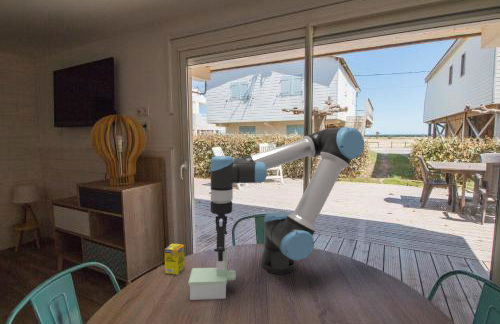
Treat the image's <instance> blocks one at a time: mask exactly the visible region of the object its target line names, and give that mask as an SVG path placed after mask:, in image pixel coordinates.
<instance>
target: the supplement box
mask: <svg viewBox="0 0 500 324" xmlns="http://www.w3.org/2000/svg"><path fill="white" fill-rule="evenodd" d="M184 270H185V244H180V243H171V244H169V245H168V246H167V247H166V248H164V275H172V276H173V275H174V276H179V275H180V274H181V273H182V272H183V271H184Z"/></svg>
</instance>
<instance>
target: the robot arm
mask: <svg viewBox="0 0 500 324" xmlns="http://www.w3.org/2000/svg"><path fill="white" fill-rule="evenodd" d="M364 149H365V140H364V136H363V134H362V133H361V131H360V130H359V129H357V128H354V127H350V126H343V127H329V128H328V127H327V128H325V129H321V130H319V131H316V132H313V133H311V134H307V135H305V136H303V138H302V139H299V140H296V141H292V142H289V143H286V144H282V145H279V146H277V147H274V148H270V149H267V150H264V151H260V152H258V153H257V152H256V153H254V154H251V155H248V156H244V157H237V158H233V157H232V156H230V155H229V156H227V155H217V156H213V157H212V158H211V159H210V169H209V170H210V191H208V194H209V195H210V201H211V202H210V213H211V214H214V215H217V216H215V219H214V220H215V230H216V248H214V250H213V251H214V252H215V253H216V257H215V258H216V259H215V263H216V266H215V268H216V270H225V248H226V235H228V231H227V223H228V216H227V215H229V214H231V213H232V212H233V197H234V196H233V194H234V193H233V192H234V191H233V185H234V184H258V183H264V182H266V179H267V176H268V171H267V170H270V169H273V168H276V167H279V166H281V165H284V164H287V163H288V164H289V163H292V162H294V161H297V160H300V159H304V158H306V157H309V158H314V157H317V156H319V157H320V158H321V160H320V161H319V164H318V166H317V167H316V169H315V171H314V173H313V174H312V176H311V179H310V181H309V183H308V184H307V186H306V189H305V190H304V192H303V194H302V196H301V198H300V200H299V202H298V203H297V206H296V208H295V210H294V211H293V212H292V213H288V212H281V211H279V212H270V213H266V214H265V216H264V220H263V224H264V226H263V227H264V228H263V229H264V230H263V231H264V236H263V238H264V239H263V240H264V241H263V243H264V244H263V247H264V248H263V249H262V253H261V256H260V259H259V266H260V267H261V268H262V269H263V270H265V271H266V272H267V273H269V274H276V275H280V274H281V275H285V274H290V273H291V272H293V271H294V270H295V269H296V261H301V260H304V259H307V257H308V256H310V255H311V253H312V252H313V251H314V248H315V240H314V237H313V236H314V234H315V233H316V227H315V223H316V221H317V218H318V217H319V216H320V213H321V211H322V209H323V207H324V205H325V204H326V202H327V199H328V197H329V196H330V193H331V192H332V190H333V189H334V186H335V184H336V182H337V179H338V178H339V176H340V174H341V172H342V170H343V169H346V168H348V167H349V166H350V165H351V164H350V163H351V162H352V160H354V159H356V158H359V157H360V156H361V155H362V154H363V152H364Z"/></svg>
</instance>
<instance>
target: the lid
mask: <svg viewBox="0 0 500 324" xmlns="http://www.w3.org/2000/svg"><path fill="white" fill-rule="evenodd" d="M236 277H237V276H236V269H231V270H230V269H229V270H228V248H227V247H225V270H216V267H193V268H191V271H190V275H189V279H188V286H190V285H212V284H226V285H228V281H236Z"/></svg>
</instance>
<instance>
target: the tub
mask: <svg viewBox="0 0 500 324" xmlns="http://www.w3.org/2000/svg"><path fill="white" fill-rule="evenodd" d="M226 297H227V284H212V285H189V300H190V301H199V300H200V301H201V300H203V301H204V300H223V299H226Z"/></svg>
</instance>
